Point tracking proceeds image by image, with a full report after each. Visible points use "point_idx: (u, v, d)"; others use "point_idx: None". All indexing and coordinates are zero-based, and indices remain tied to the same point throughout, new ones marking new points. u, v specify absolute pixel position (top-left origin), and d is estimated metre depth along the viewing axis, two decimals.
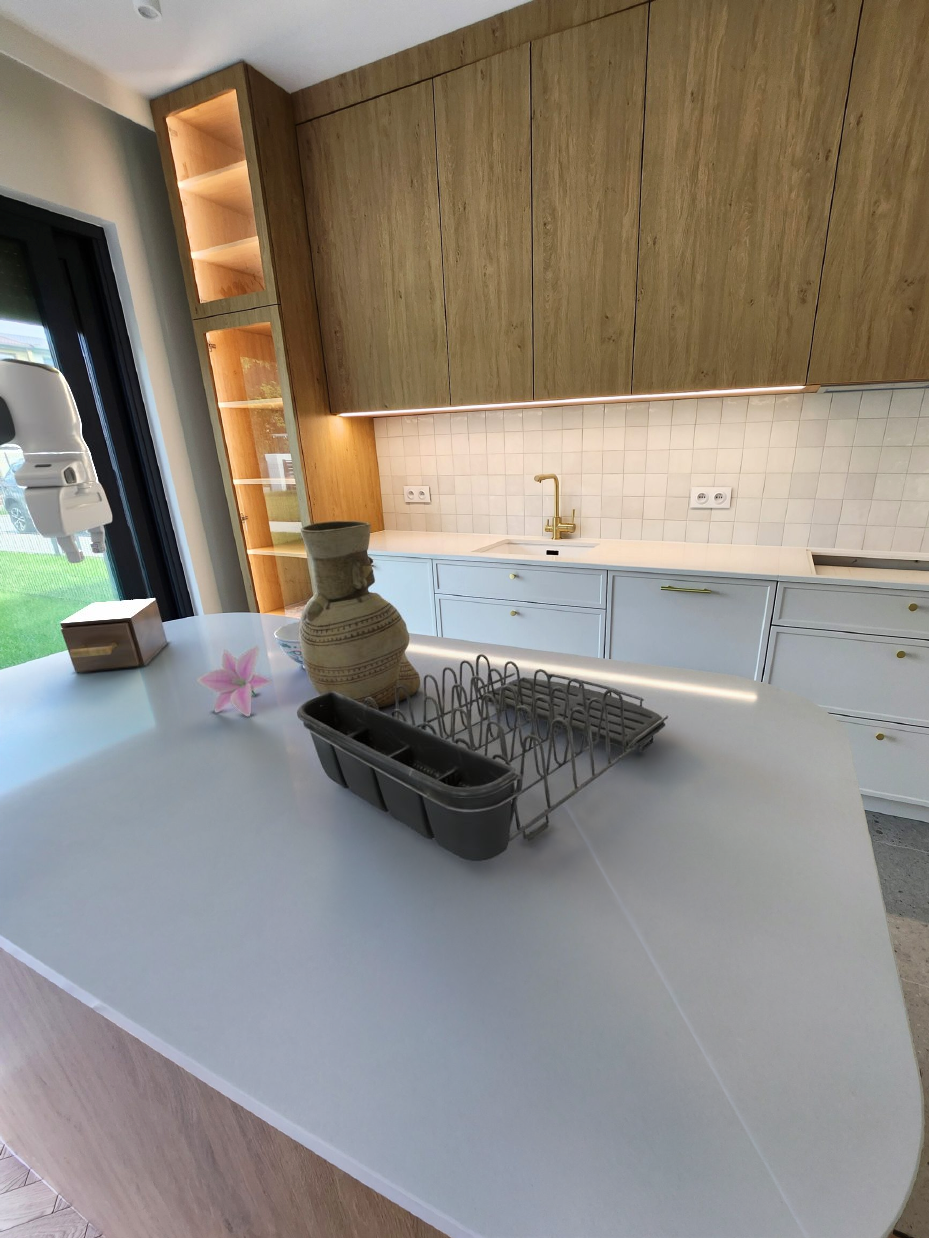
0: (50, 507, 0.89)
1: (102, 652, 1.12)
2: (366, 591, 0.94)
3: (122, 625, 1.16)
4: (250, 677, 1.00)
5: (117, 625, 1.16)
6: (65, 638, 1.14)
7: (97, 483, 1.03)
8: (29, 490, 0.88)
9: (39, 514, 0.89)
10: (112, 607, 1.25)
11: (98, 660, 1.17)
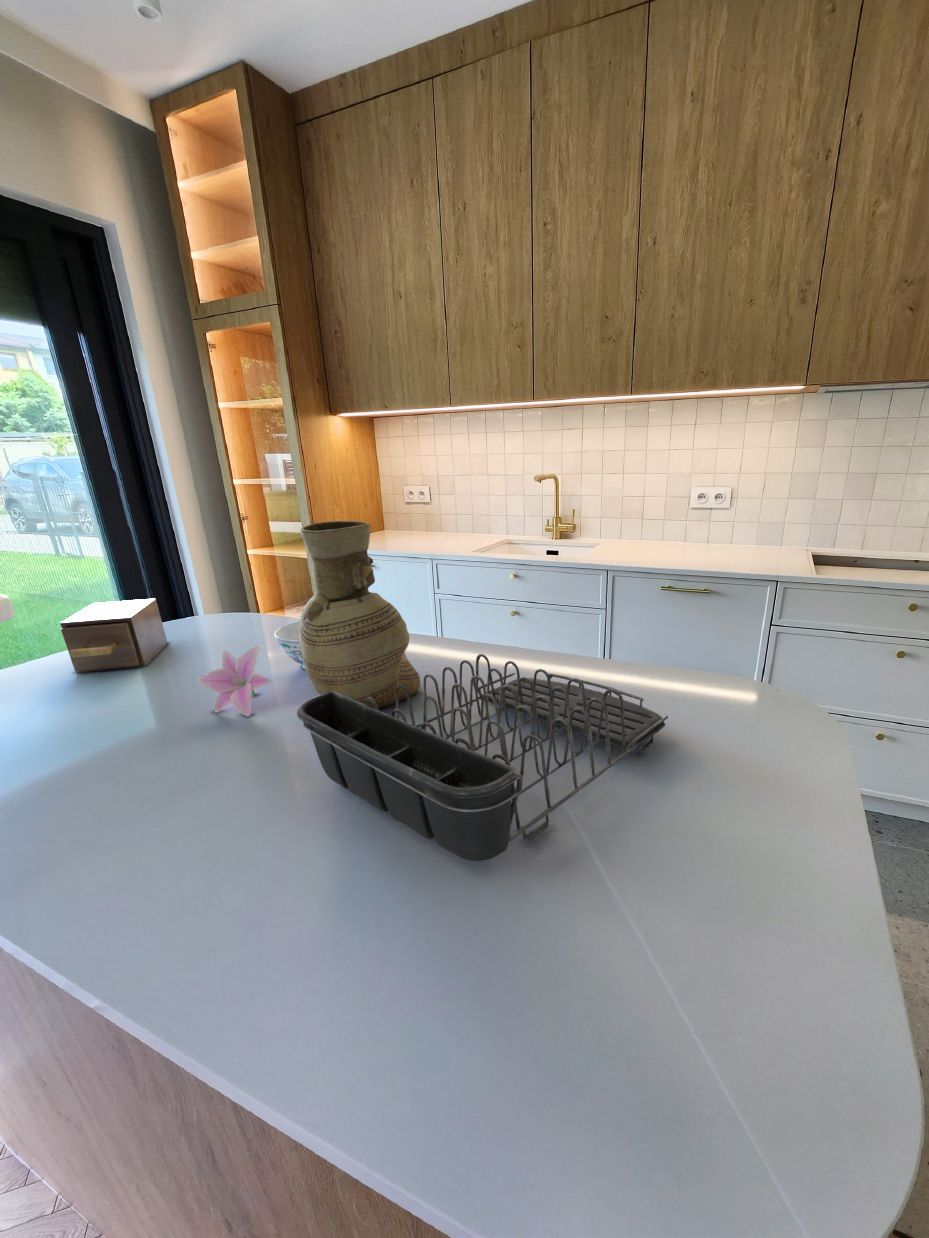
0: None
1: (102, 652, 1.12)
2: (366, 591, 0.94)
3: (122, 625, 1.16)
4: (250, 677, 1.00)
5: (117, 625, 1.16)
6: (65, 638, 1.14)
7: None
8: None
9: None
10: (112, 607, 1.25)
11: (98, 660, 1.17)
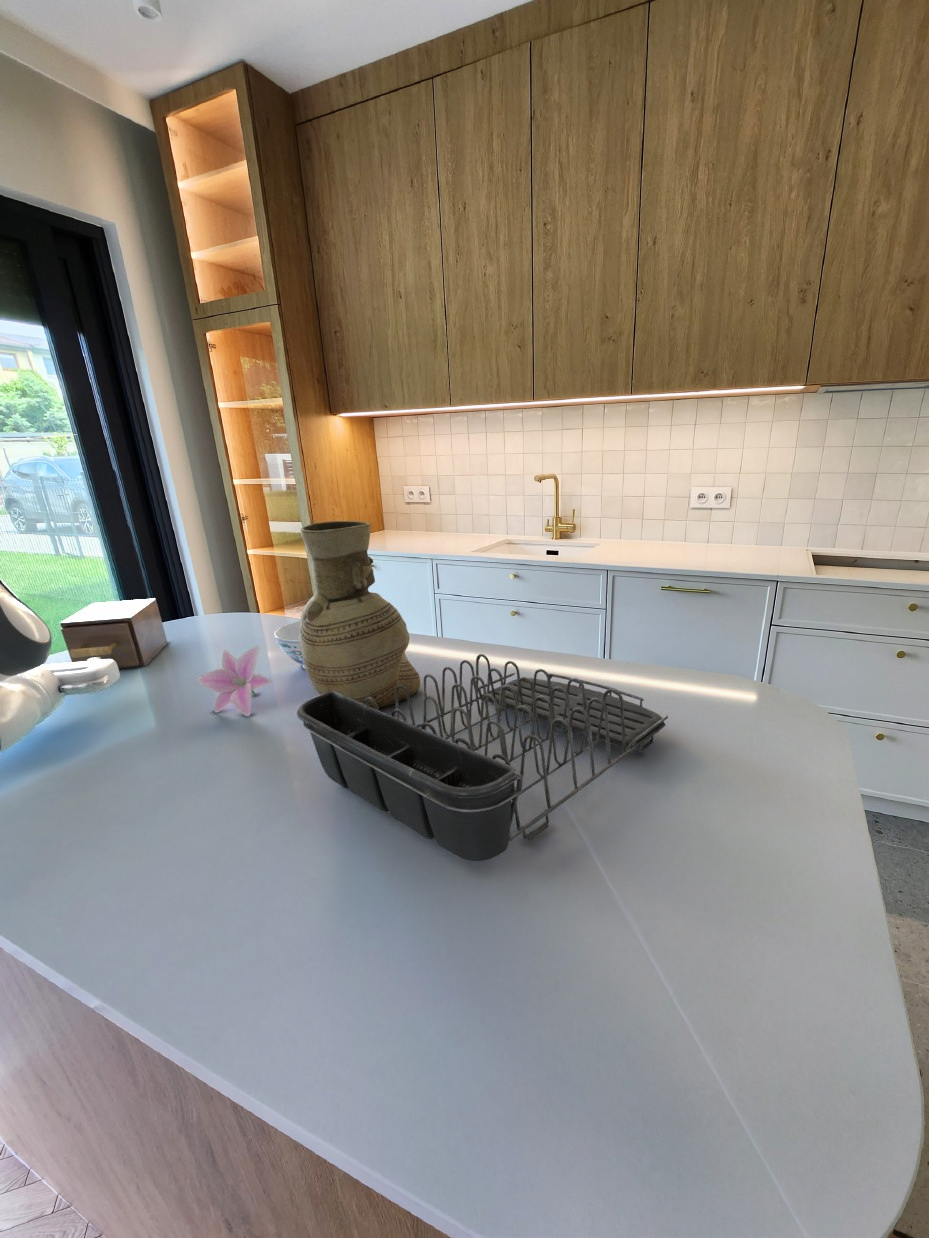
0: None
1: (102, 652, 1.12)
2: (366, 591, 0.94)
3: (122, 625, 1.16)
4: (250, 677, 1.00)
5: (117, 625, 1.16)
6: (65, 638, 1.14)
7: None
8: None
9: None
10: (112, 607, 1.25)
11: None
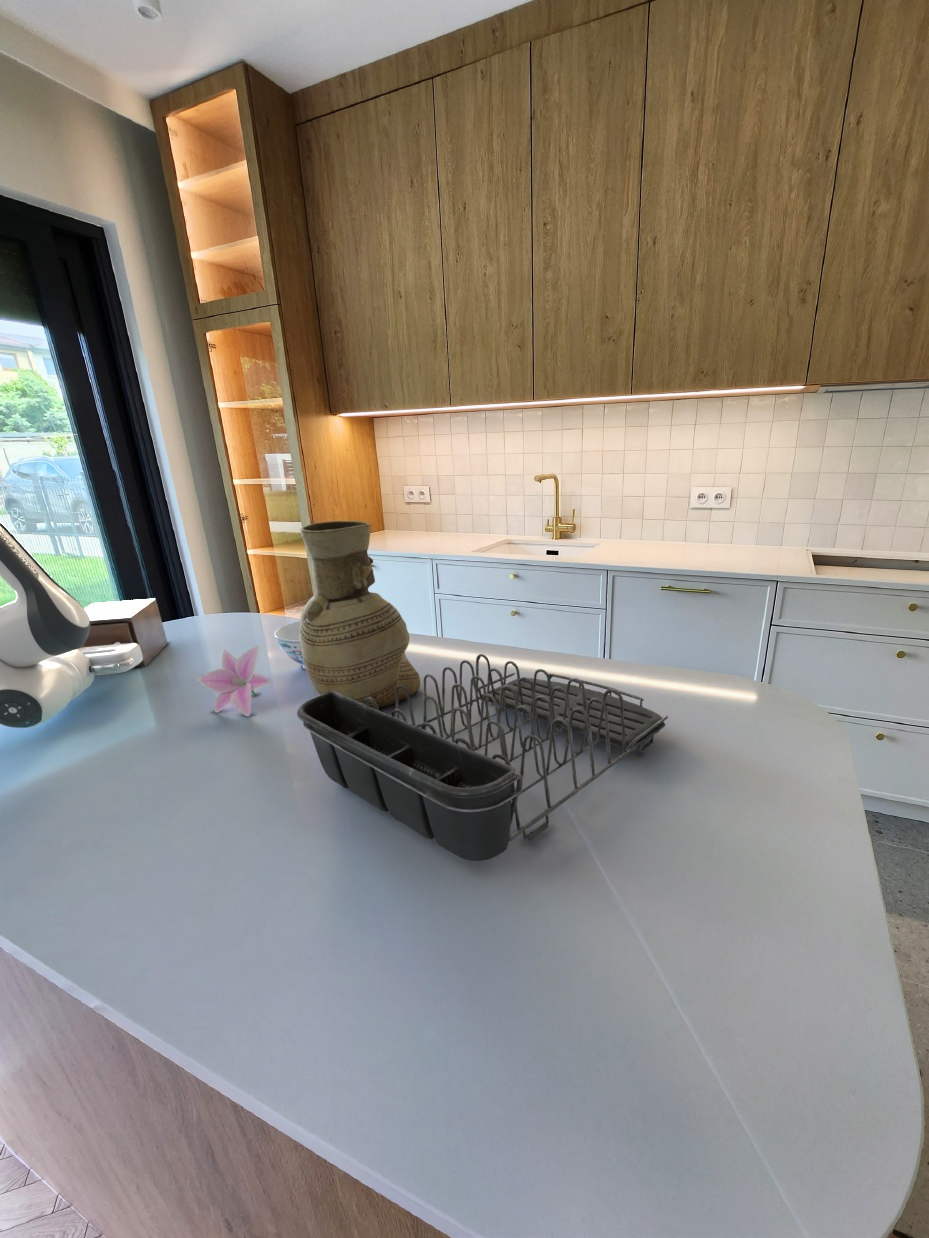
0: None
1: None
2: (366, 591, 0.94)
3: (122, 625, 1.16)
4: (250, 677, 1.00)
5: (117, 625, 1.16)
6: None
7: None
8: None
9: None
10: (112, 607, 1.25)
11: None
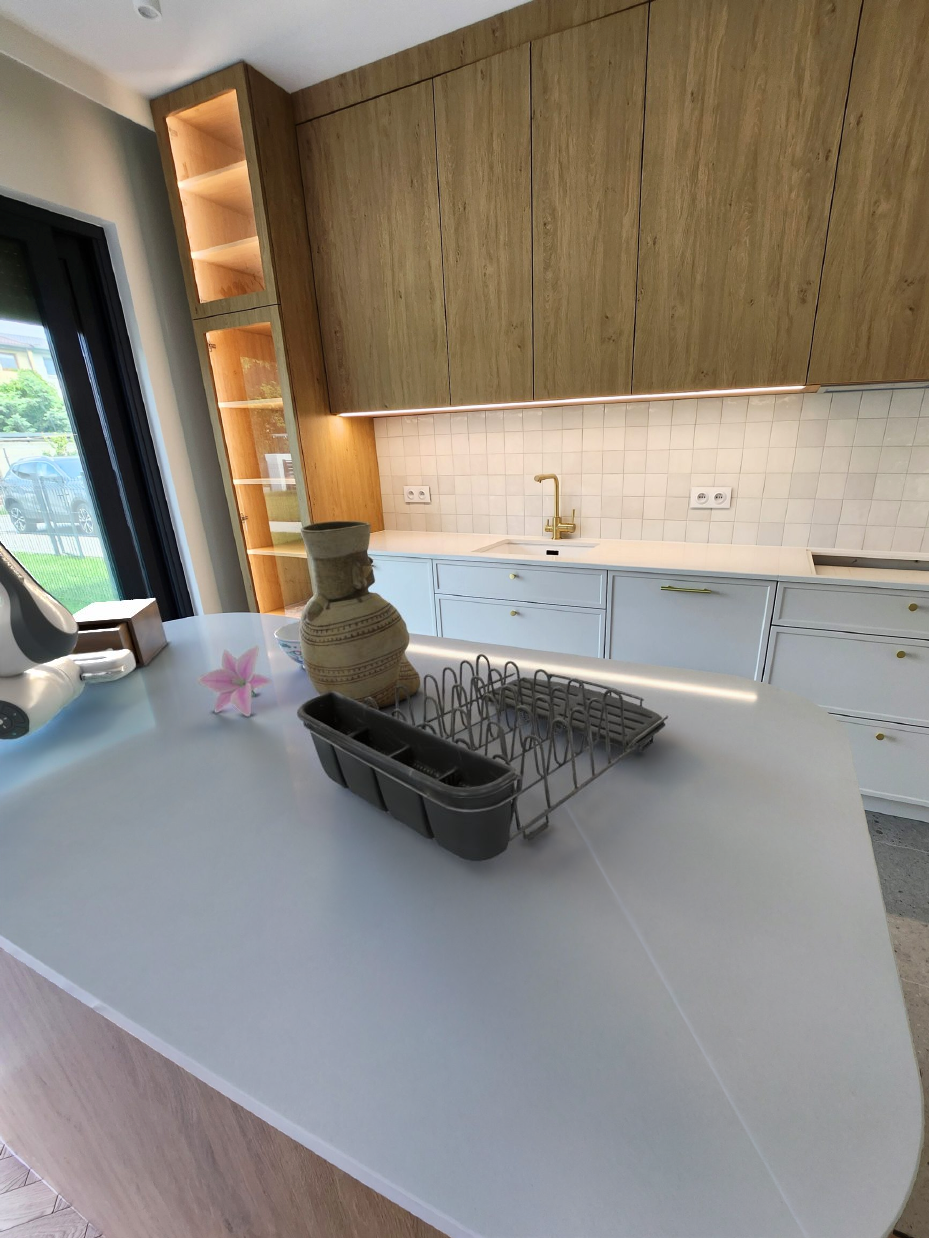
0: None
1: None
2: (366, 591, 0.94)
3: (114, 631, 1.12)
4: (250, 677, 1.00)
5: (109, 631, 1.12)
6: None
7: None
8: None
9: None
10: (112, 607, 1.25)
11: None
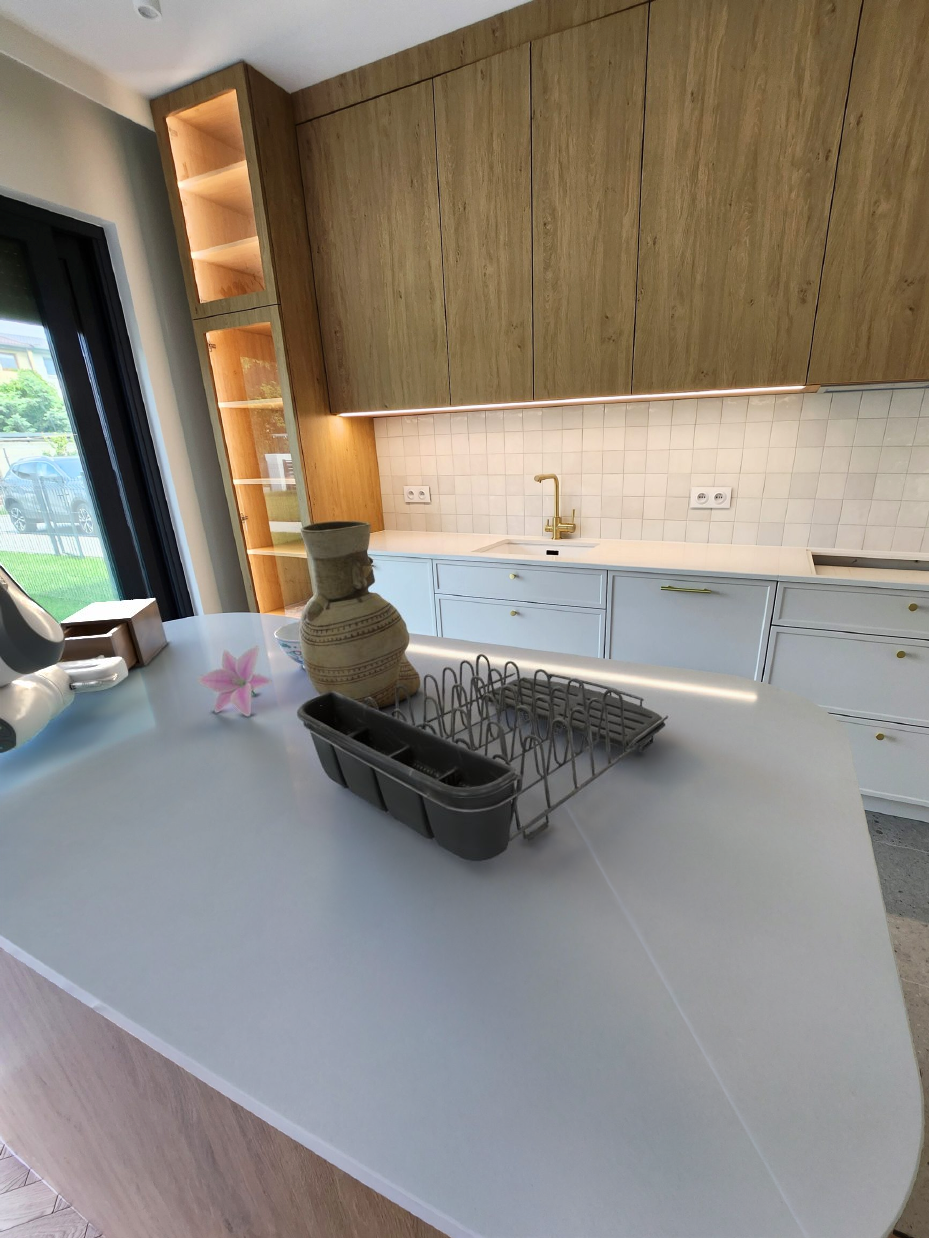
0: None
1: None
2: (366, 591, 0.94)
3: (106, 637, 1.09)
4: (250, 677, 1.00)
5: (101, 637, 1.08)
6: None
7: None
8: None
9: None
10: (112, 607, 1.25)
11: None
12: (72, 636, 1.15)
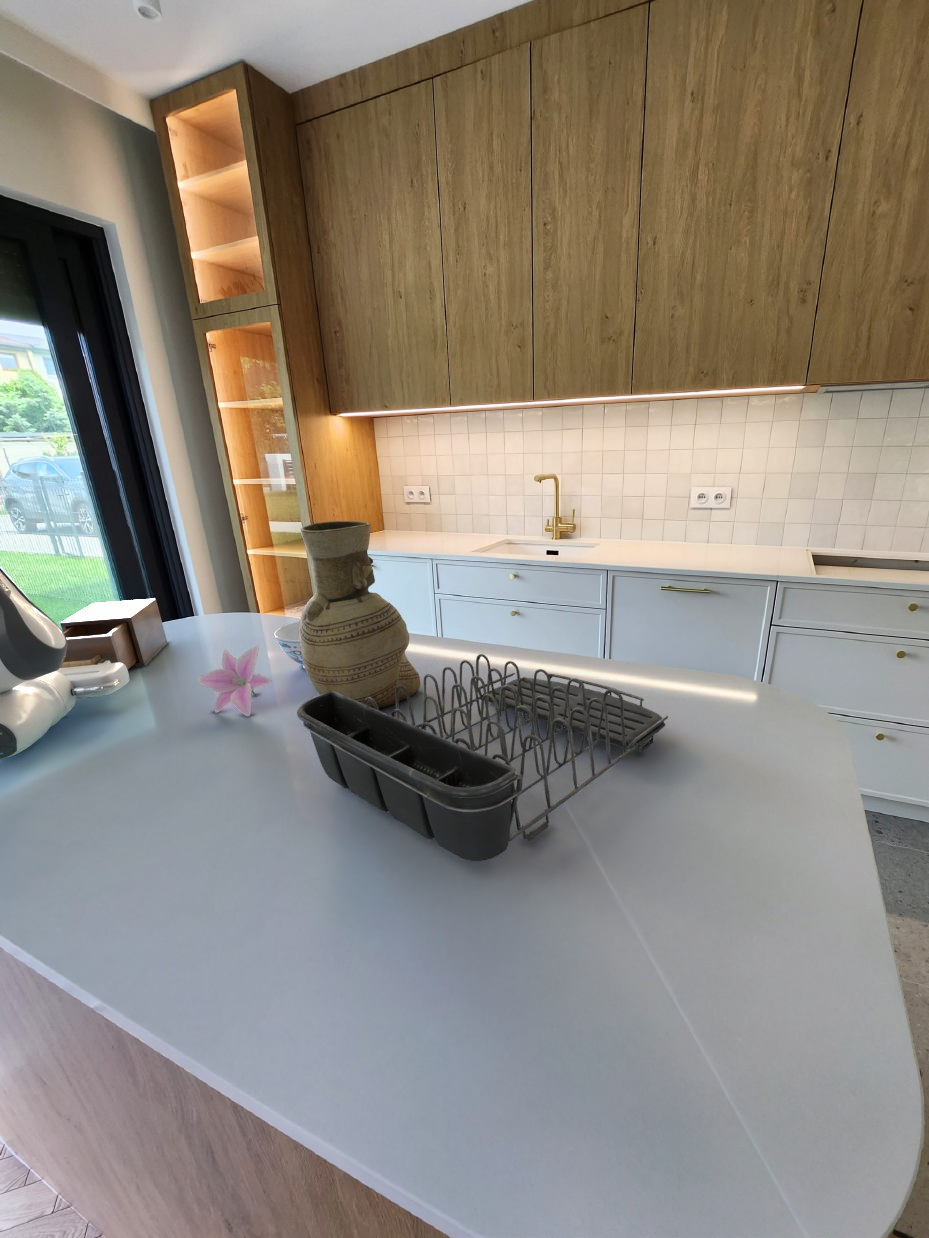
0: None
1: None
2: (366, 591, 0.94)
3: (106, 637, 1.09)
4: (250, 677, 1.00)
5: (101, 637, 1.09)
6: None
7: (100, 695, 0.99)
8: None
9: None
10: (112, 607, 1.25)
11: None
12: (72, 636, 1.15)
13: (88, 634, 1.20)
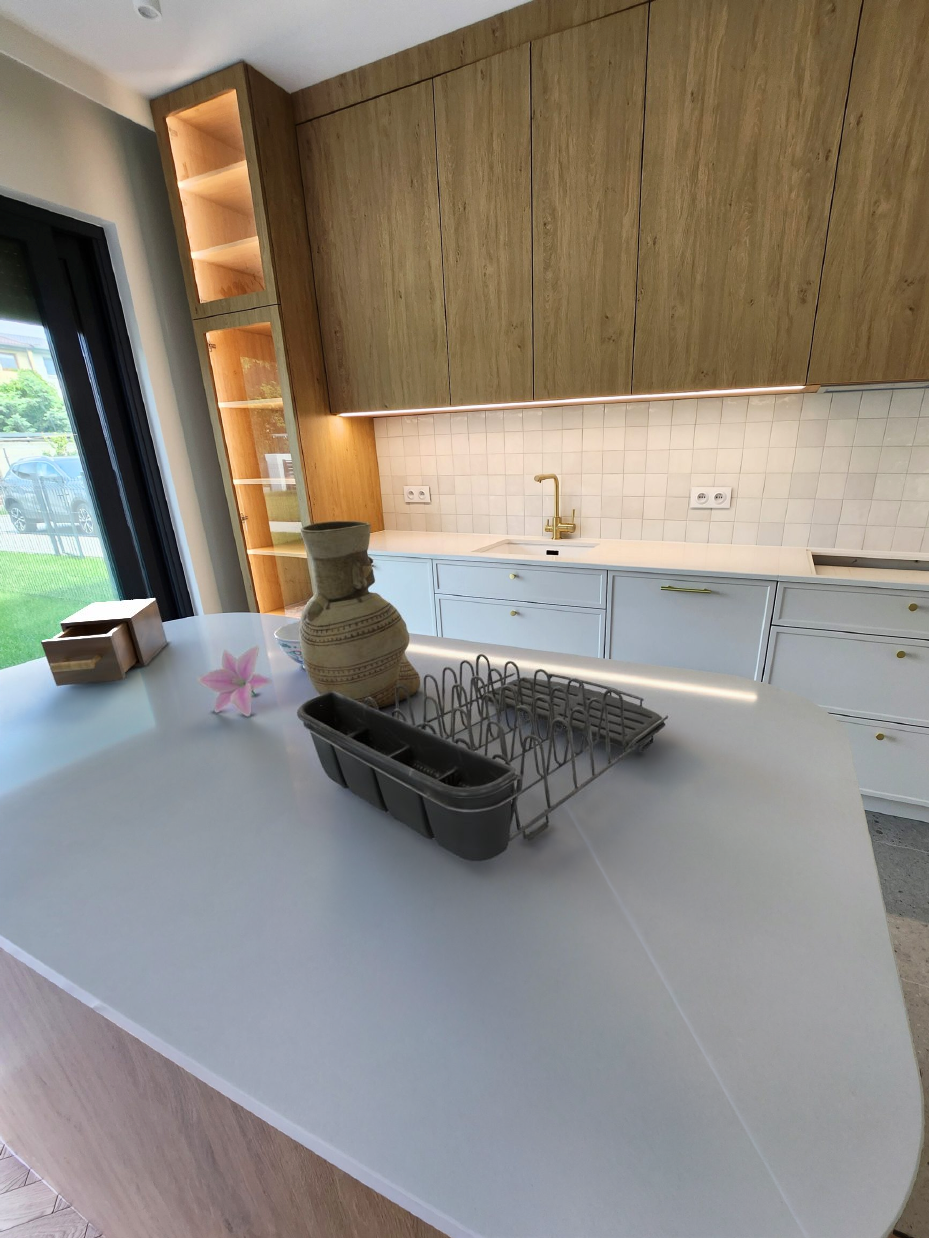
0: None
1: (84, 666, 1.05)
2: (366, 591, 0.94)
3: (106, 637, 1.09)
4: (250, 677, 1.00)
5: (101, 637, 1.09)
6: (45, 651, 1.07)
7: None
8: None
9: None
10: (112, 607, 1.25)
11: (81, 674, 1.10)
12: (72, 636, 1.15)
13: (88, 634, 1.20)
